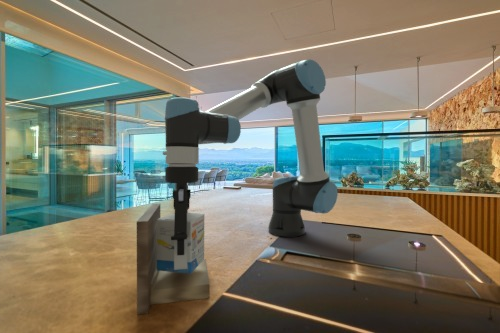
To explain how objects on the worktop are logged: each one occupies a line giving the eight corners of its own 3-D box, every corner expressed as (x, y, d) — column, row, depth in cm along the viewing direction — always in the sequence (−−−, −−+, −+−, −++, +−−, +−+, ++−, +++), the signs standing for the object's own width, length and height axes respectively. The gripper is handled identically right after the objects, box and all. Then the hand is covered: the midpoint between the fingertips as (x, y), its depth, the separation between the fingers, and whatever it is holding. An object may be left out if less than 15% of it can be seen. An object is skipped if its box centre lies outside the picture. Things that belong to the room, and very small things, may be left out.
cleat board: (205, 265, 71) (205, 202, 70) (210, 305, 51) (210, 218, 51) (152, 270, 68) (152, 203, 67) (137, 314, 48) (136, 221, 48)
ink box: (190, 274, 54) (191, 220, 54) (155, 270, 56) (155, 218, 56) (205, 259, 63) (205, 212, 63) (174, 256, 65) (174, 211, 64)
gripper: (169, 164, 69) (169, 243, 70) (159, 166, 47) (158, 283, 47) (197, 164, 71) (196, 242, 72) (199, 166, 49) (199, 279, 49)
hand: (181, 258), depth 60 cm, fingers closed on ink box, 11 cm apart
